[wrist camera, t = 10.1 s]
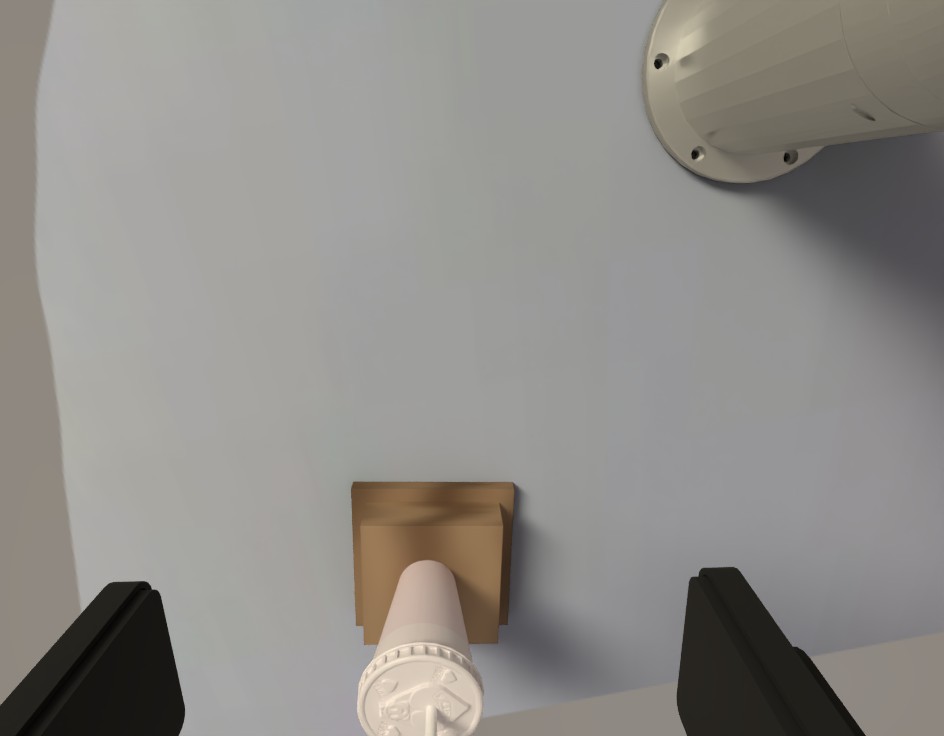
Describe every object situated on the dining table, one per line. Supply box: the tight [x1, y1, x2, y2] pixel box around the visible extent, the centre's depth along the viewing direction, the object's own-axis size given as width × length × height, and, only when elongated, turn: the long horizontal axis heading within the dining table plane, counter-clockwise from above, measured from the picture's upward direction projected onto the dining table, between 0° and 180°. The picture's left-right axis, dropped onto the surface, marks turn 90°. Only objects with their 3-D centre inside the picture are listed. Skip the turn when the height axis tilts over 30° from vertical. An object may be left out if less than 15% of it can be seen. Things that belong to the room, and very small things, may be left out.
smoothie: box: [357, 560, 484, 736], centre depth 32 cm, size 6×6×14 cm
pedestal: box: [351, 482, 514, 645], centre depth 40 cm, size 11×11×4 cm
